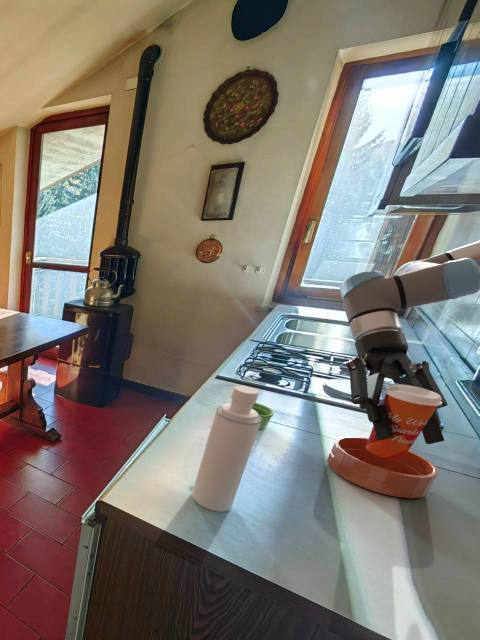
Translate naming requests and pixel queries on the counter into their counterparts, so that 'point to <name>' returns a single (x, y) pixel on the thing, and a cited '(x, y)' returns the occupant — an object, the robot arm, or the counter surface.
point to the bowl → (381, 469)
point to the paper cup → (404, 419)
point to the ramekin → (263, 414)
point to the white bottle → (227, 451)
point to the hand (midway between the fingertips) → (410, 440)
